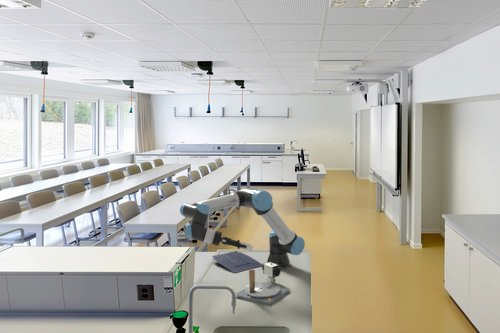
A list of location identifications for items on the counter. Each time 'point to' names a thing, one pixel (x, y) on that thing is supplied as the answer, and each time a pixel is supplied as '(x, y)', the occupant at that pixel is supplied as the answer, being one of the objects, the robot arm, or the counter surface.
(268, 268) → the pneumatic valve
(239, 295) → the dial plate
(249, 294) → the peg stand
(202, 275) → the counter surface
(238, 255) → the dark blue flat panel
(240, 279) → the counter surface
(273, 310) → the counter surface
